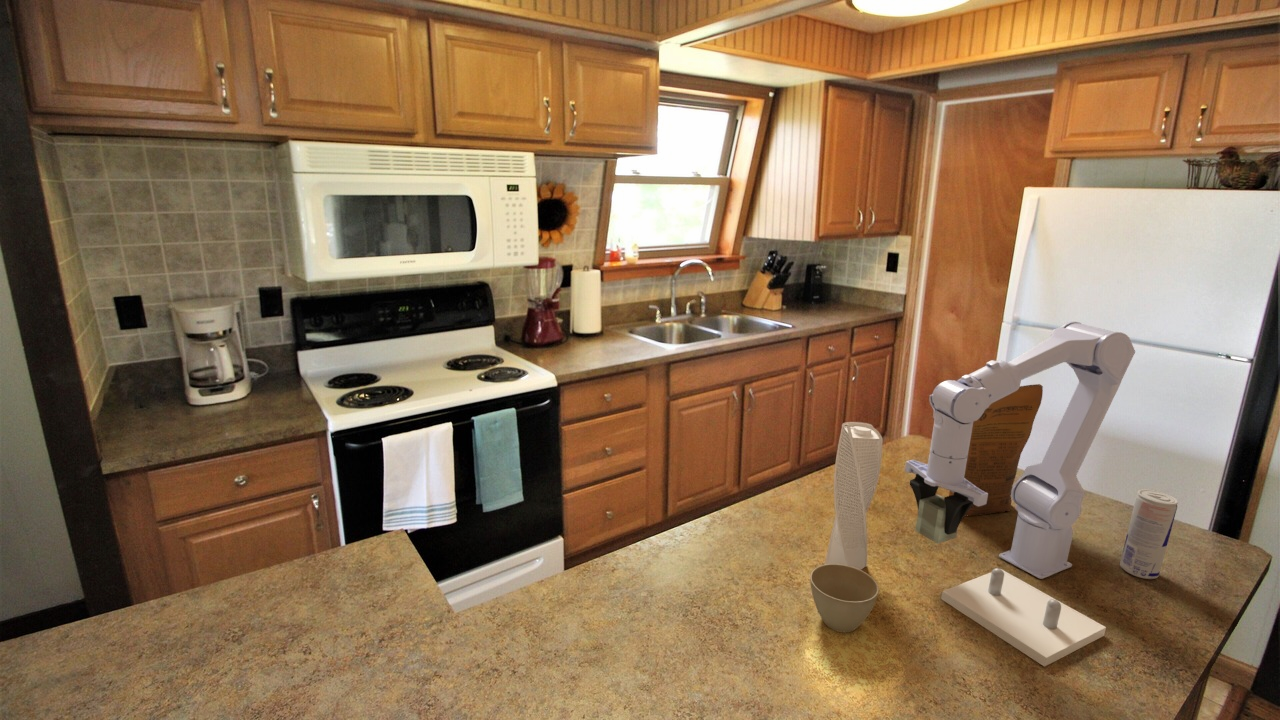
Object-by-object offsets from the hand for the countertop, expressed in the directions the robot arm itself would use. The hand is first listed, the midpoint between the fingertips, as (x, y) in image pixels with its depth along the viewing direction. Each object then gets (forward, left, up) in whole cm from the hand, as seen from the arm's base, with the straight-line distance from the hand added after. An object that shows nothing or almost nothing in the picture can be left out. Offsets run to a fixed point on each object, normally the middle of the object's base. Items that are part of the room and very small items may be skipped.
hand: (937, 525), depth 109 cm
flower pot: (+24, +3, -10) cm, 26 cm away
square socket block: (0, 0, -2) cm, 2 cm away
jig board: (-3, +14, -9) cm, 17 cm away
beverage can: (-35, +16, -10) cm, 40 cm away
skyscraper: (+12, -8, -10) cm, 17 cm away
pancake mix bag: (-30, -11, -10) cm, 33 cm away
